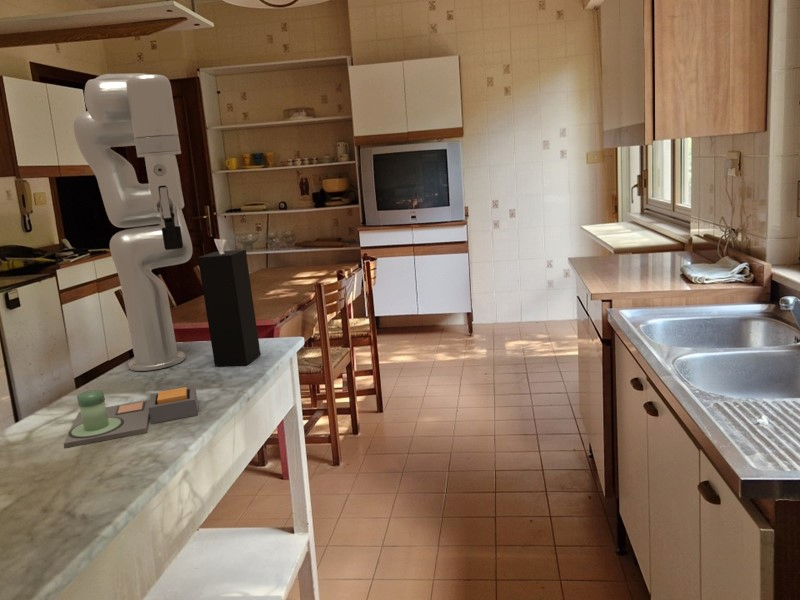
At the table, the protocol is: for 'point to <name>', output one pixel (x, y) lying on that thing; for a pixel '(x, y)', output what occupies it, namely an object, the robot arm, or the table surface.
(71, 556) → the table surface
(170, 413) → the button housing
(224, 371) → the table surface
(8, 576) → the table surface
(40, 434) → the table surface
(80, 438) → the colouring board
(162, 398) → the button
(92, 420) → the green capped cylinder
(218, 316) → the tissue box
